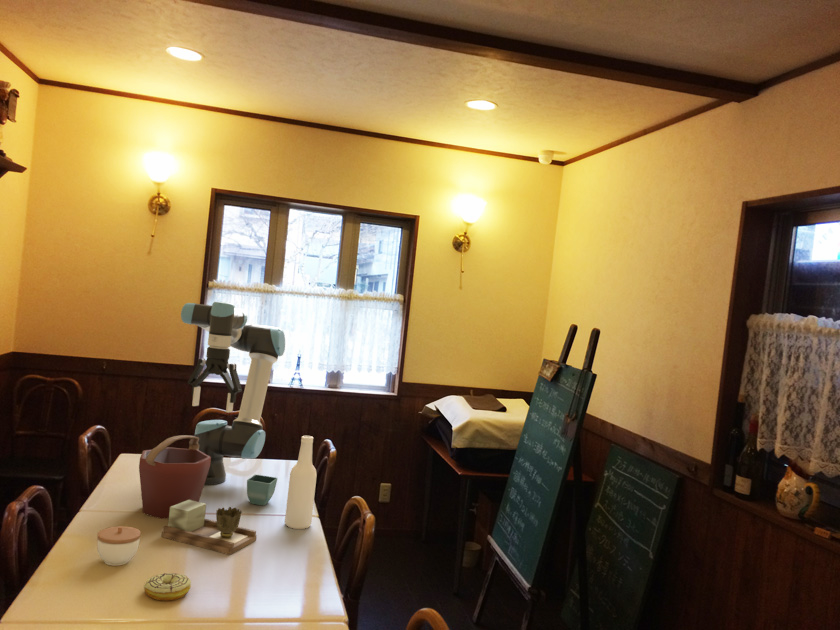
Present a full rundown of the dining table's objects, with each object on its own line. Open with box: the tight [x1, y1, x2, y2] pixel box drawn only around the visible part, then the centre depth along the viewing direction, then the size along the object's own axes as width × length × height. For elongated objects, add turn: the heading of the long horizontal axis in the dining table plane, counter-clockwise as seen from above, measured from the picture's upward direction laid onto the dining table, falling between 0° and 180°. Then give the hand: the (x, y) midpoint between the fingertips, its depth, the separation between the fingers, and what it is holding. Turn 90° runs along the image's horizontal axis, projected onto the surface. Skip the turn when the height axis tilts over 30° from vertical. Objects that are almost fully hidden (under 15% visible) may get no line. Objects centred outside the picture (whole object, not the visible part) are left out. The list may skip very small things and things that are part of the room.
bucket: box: [138, 434, 211, 519], centre depth 225 cm, size 24×22×25 cm
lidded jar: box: [96, 525, 142, 567], centre depth 181 cm, size 11×11×9 cm
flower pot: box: [246, 474, 278, 506], centre depth 243 cm, size 9×9×9 cm
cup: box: [215, 506, 242, 538], centre depth 203 cm, size 8×7×8 cm
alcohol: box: [284, 435, 317, 530], centre depth 225 cm, size 9×9×30 cm
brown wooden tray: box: [161, 500, 257, 556], centre depth 205 cm, size 24×14×8 cm, turn 72°
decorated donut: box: [143, 572, 192, 602], centre depth 167 cm, size 10×11×4 cm
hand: (212, 408), depth 229 cm, fingers open, 13 cm apart
